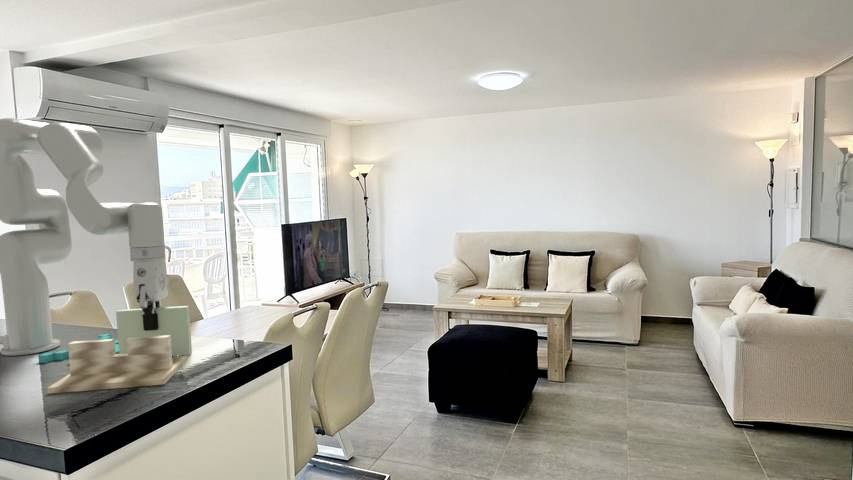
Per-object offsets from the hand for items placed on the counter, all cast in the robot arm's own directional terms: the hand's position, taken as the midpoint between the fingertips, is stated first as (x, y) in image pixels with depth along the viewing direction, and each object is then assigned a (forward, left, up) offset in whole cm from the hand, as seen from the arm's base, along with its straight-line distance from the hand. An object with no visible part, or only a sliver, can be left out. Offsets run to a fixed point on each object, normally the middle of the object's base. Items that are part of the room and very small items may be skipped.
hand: (153, 328), depth 128 cm
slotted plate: (0, 0, -7) cm, 7 cm away
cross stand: (-2, -14, -7) cm, 16 cm away
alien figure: (-14, +8, -8) cm, 18 cm away
